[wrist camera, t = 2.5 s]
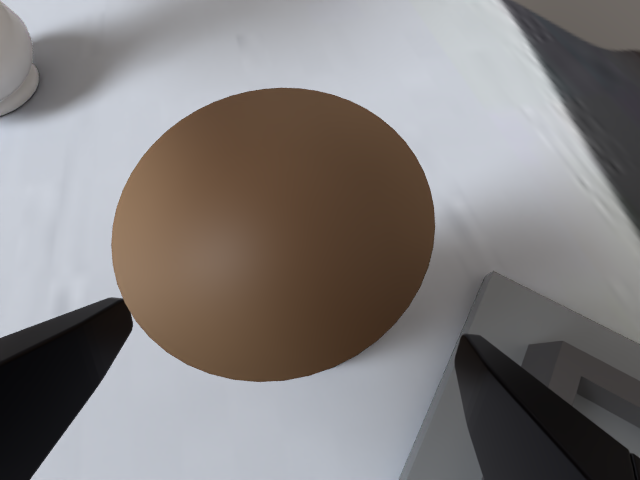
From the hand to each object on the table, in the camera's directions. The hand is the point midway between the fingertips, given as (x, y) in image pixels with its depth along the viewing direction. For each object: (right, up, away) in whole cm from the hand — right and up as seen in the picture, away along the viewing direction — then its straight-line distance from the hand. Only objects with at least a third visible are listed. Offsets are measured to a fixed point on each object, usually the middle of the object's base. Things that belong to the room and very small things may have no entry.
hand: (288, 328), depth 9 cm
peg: (0, -2, +9) cm, 9 cm away
